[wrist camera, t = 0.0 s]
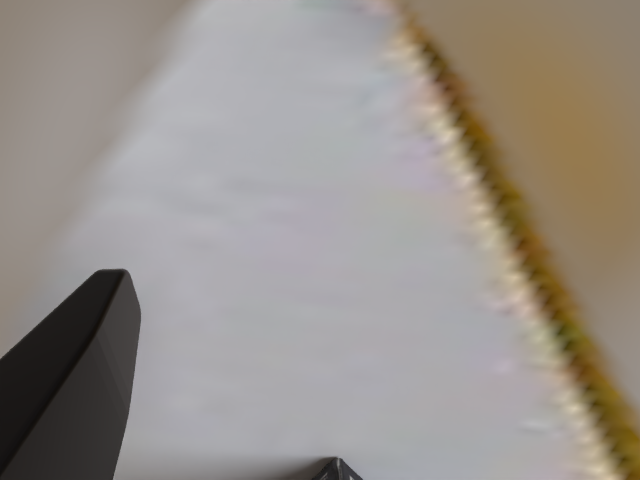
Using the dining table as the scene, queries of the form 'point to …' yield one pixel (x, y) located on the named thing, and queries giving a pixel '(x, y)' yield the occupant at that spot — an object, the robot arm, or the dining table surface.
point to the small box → (337, 472)
